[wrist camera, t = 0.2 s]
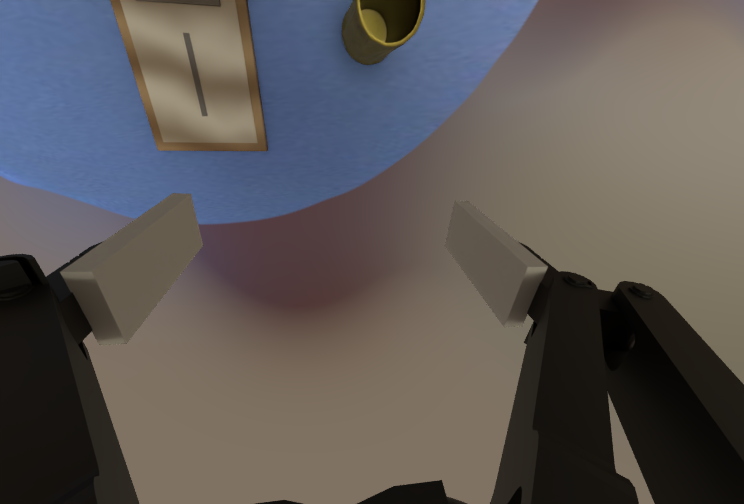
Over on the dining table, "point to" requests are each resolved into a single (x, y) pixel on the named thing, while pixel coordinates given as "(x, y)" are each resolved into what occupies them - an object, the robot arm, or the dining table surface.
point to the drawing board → (195, 72)
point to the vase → (379, 27)
